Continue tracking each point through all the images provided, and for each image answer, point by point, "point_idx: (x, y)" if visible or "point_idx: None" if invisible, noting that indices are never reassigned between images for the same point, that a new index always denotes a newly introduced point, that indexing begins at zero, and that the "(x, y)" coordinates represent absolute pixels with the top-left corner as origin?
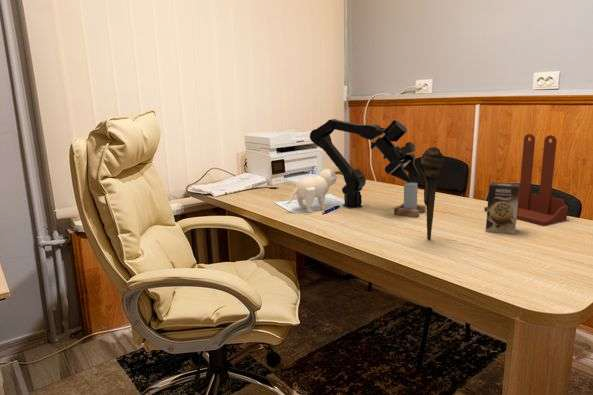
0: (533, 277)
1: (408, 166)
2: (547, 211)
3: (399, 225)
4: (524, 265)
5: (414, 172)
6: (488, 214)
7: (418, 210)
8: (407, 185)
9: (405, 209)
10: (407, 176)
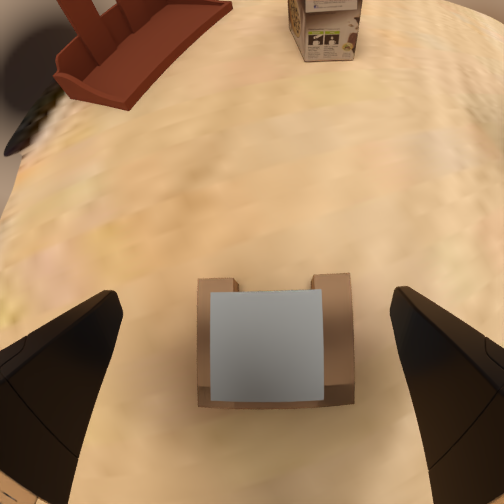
0: (488, 34)
1: (29, 452)
2: (147, 15)
3: (472, 296)
4: (467, 33)
5: (83, 353)
6: (358, 18)
7: (324, 274)
8: (322, 361)
9: (339, 345)
10: (454, 317)
